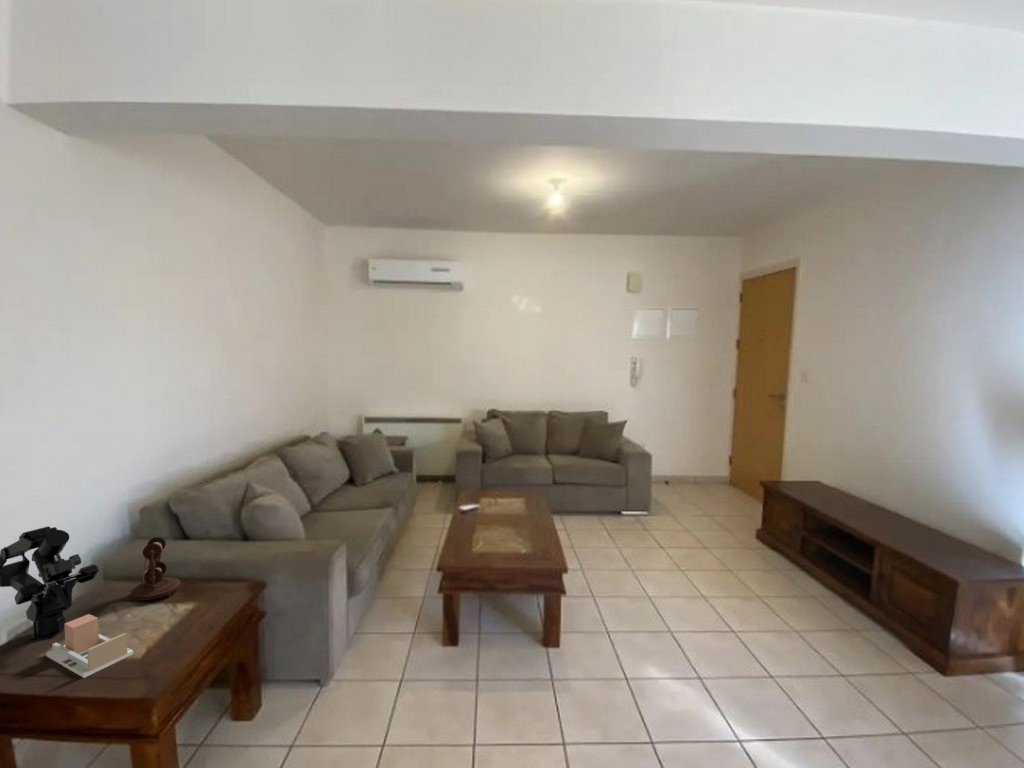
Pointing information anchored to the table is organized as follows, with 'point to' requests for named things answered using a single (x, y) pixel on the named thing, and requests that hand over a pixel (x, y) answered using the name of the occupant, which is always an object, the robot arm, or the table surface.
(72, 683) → the table surface
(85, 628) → the slider block
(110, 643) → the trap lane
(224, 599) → the table surface
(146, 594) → the brown upright piece
